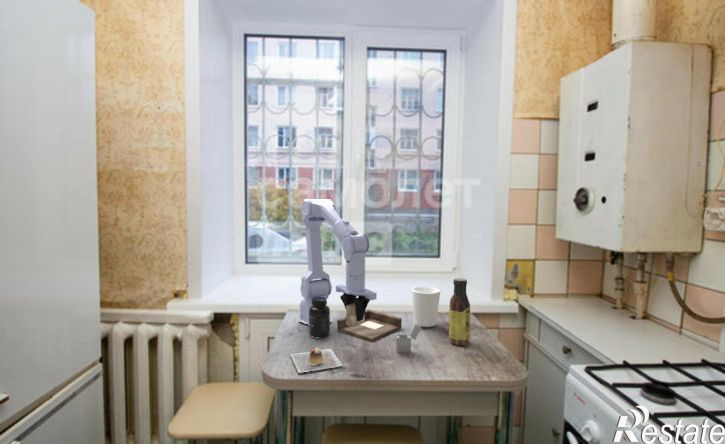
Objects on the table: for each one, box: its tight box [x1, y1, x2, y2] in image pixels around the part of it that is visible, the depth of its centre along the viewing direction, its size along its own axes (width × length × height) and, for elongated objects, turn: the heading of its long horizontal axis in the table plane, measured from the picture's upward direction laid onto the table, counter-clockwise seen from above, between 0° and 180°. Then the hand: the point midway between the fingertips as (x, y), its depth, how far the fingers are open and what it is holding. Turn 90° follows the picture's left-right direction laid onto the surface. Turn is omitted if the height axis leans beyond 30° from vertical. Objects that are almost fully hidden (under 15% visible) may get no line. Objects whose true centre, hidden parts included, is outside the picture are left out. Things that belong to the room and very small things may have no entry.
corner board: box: [336, 308, 403, 343], centre depth 130 cm, size 15×16×4 cm
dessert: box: [290, 346, 344, 374], centre depth 105 cm, size 12×12×5 cm
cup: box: [411, 285, 441, 330], centre depth 134 cm, size 10×10×13 cm
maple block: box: [345, 303, 365, 327], centre depth 115 cm, size 3×5×6 cm, turn 140°
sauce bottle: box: [448, 277, 471, 347], centre depth 118 cm, size 6×6×20 cm
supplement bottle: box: [308, 297, 331, 338], centre depth 125 cm, size 7×7×12 cm
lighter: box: [395, 324, 422, 354], centre depth 112 cm, size 7×2×8 cm, turn 91°
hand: (355, 318), depth 115 cm, fingers closed on maple block, 3 cm apart
